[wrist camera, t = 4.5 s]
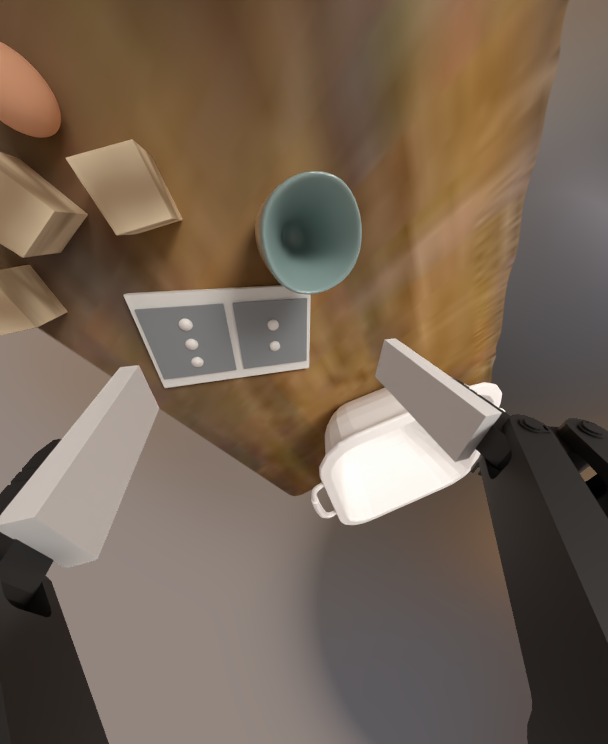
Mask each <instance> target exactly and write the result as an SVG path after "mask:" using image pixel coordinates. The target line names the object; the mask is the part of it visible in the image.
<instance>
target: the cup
mask: <svg viewBox="0 0 608 744" xmlns="http://www.w3.org/2000/svg"><path fill="white" fill-rule="evenodd" d="M255 238H256V244H257V247H258V251H259V254H260V256H261V258H262V260H263V262H264V264H265V265H266V267H267V269H268V270H269V272H270V273H271V274H272V275H273V276H274V278H275V279H276V280H277V281H278V282H279V283H280V284H281V285H283V286H284V287H285V288H287V289H288V290H290V291H293V292H295V293H298V294H307V295H309V294H318V293H321V292H325V291H327V290H329V289H331V288H333V287H335V286H336V285H338V284H339V283H340V282H342V281H343V280H344V279H345V278H346V277H347V276H348V275H349V273H350V272H351V270H352V269H353V267H354V265H355V263H356V261H357V259H358V255H359V251H360V247H361V238H362V226H361V218H360V212H359V209H358V206H357V203H356V200H355V198H354V196H353V194H352V192H351V190H350V189H349V187H348V186H347V185H346V184H345V183H344V182H343V181H342V180H341V179H339V178H338V177H336V176H335V175H333V174H330V173H326V172H323V171H308V172H303V173H299V174H296V175H294V176H292V177H290V178H288V179H286V180H285V181H283V182H282V183H281V184H280V185H278V186H277V187H276V188H275V189H273V190H272V192H271V193H270V194H269V195H268V196H267V197H266V199H265V200H264V201H263V202H262V204H261V206H260V208H259V210H258V213H257V217H256V221H255Z"/></svg>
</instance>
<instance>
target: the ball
mask: <svg viewBox="0 0 608 744" xmlns="http://www.w3.org/2000/svg"><path fill="white" fill-rule="evenodd" d="M0 120H1V121H2V122H3V123H5V124H6V125H8V126H9V127H11V128H13V129H15V130H17V131H19V132H21V133H23V134H26V135H29V136H32V137H38V138H45V137H50V136H52V135H54V134H55V133H56V132H57V131H58V130H59V127H60V124H61V114H60V109H59V105H58V103H57V100H56V98H55V96H54V94H53V92H52V90H51V89H50V87H49V86H48V84H47V83H46V81H45V80H44V79H43V77H42V76H41V75H40V74H39V72H38V71H37V70H36V69H35V68H34V67H33V66H32V65H31V64H30V63H29V62H28V61H27V60H26V59H25V58H23V57H22V56H21V55H20V54H19V53H17V52H16V51H14V50H13V49H12V48H10V47H9V46H7V45H5V44H4V43H2V42H0Z"/></svg>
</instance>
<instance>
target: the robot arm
mask: <svg viewBox="0 0 608 744" xmlns="http://www.w3.org/2000/svg"><path fill="white" fill-rule="evenodd" d="M375 377H376V378H377V379H378V380H379V381H380V382H381V383H382V385H383V386H384V387H385V388H386V389H387V390H388V391H389V392H390V393H391V394H392V395H393V396H394V397H395V398H396V400H397V401H398V402H399V403H400V404H401V405H402V406H403V407H404V408H405V409H406V410H407V411H408V412H409V413H410V415H411V416H412V417H413V418H414V419H415V420H416V421H417V422H418V423H419V424H420V425H421V426H422V427H423V428H424V430H425V431H426V432H427V433H428V434H429V435H430V436H431V437H432V438H433V439H434V440H435V441H436V442H437V443H438V445H439V446H440V447H441V448H442V449H443V450H444V451H445V452H446V453H447V454H448V455H449V456H450V457H451V458H452V459H453V461H454V462H457V461H461V460H465V459H468V458H470V456H471V455H472V454H473V452H474V451H475V449H476V450H477V451H478V452H479V453H481V455H480V457H479V458H478V459H477V460H476V462H475V463H474V464H473V466H472V467H471V472H474V471H475V470H476V469H477V468H478V467H480V471H479V472H478V475H481V476H482V479H483V484H484V488H485V492H486V497H487V501H488V506H489V510H490V514H491V519H492V523H493V528H494V532H495V537H496V541H497V545H498V550H499V554H500V558H501V563H502V567H503V572H504V576H505V581H506V585H507V589H508V594H509V598H510V602H511V607H512V611H513V616H514V619H515V625H516V629H517V633H518V638H519V642H520V647H521V651H522V656H523V660H524V664H525V668H526V673H527V677H528V682H529V686H530V690H531V697H532V712H531V715H530V718H529V721H528V726H527V740H528V744H608V431H606V430H605V429H603V428H602V427H600V426H598V425H596V424H595V423H592V422H589V421H586V420H581V419H577V418H569V419H568V420H566V421H565V422H564V423H563V424H562V425H561V426H560V427H549V426H546V425H545V424H543V423H542V422H540V421H538V420H536V419H534V418H531V417H528V416H525V415H519V414H517V415H512V416H510V415H508V414H507V413H506V412H504V411H503V410H501V409H500V408H498V407H497V406H495V405H494V404H492V403H491V402H490V401H488V400H487V399H485V398H484V397H482V396H481V395H479V394H477V393H476V392H475V391H474V390H472V389H469V387H468V386H466V385H465V384H463V383H462V382H460V381H459V380H456V379H454V378H452V377H450V376H448V375H447V374H446V373H444V372H443V371H441V370H440V369H438V368H437V367H436V366H434V365H433V364H431V363H430V362H428V361H427V360H426V359H424V358H423V357H421V356H420V355H418V354H417V353H415V352H414V351H413V350H411V349H410V348H408V347H407V346H405V345H404V344H403V343H401V342H400V341H398V340H397V339H385V340H384V343H383V347H382V351H381V355H380V359H379V363H378V367H377V371H376V375H375ZM158 411H159V407H158V404H157V402H156V400H155V398H154V396H153V394H152V392H151V390H150V388H149V386H148V383H147V381H146V379H145V377H144V375H143V373H142V371H141V369H140V367H139V365H137V366H128V367H120V368H119V369H118V370H117V372H116V373H115V374H114V375H113V377H112V378H111V379H110V380H109V382H108V383H107V384H106V385H105V387H104V388H103V389H102V390H101V391H100V393H99V394H98V395H97V396H96V398H95V399H94V400H93V402H92V403H91V404H90V405H89V406H88V408H87V409H86V410H85V411H84V412H83V414H82V415H81V416H80V417H79V419H78V420H77V421H76V422H75V424H74V425H73V426H72V427H71V428H70V430H69V431H68V433H66V435H65V436H64V437H63V438H62V439H57V440H53V441H52V442H50V443H49V444H48V445H46V446H45V447H44V448H42V449H41V450H40V451H38V452H37V453H36V454H35V455H34V456H33V457H32V458H31V459H30V460H29V462H28V463H27V464H26V465H25V466H24V467H23V468H22V472H19V473H18V474H17V475H16V476H15V478H14V479H13V480H12V481H11V485H8V486H7V487H6V488H5V489H4V490H3V491H2V492H1V494H0V744H109V743H108V740H107V737H106V734H105V731H104V728H103V726H102V723H101V720H100V717H99V714H98V712H97V709H96V706H95V703H94V700H93V697H92V695H91V692H90V689H89V686H88V683H87V681H86V678H85V675H84V672H83V669H82V666H81V664H80V661H79V658H78V655H77V652H76V650H75V647H74V644H73V641H72V639H71V635H70V633H69V630H68V627H67V624H66V621H65V618H64V616H63V613H62V610H61V607H60V604H59V602H58V599H57V596H56V593H55V590H54V588H53V585H52V582H51V581H50V580H49V578H47V577H46V576H45V575H46V573H47V571H48V570H49V568H50V566H51V564H52V562H53V561H54V562H55V563H57V564H59V565H61V566H63V567H64V568H69V567H72V566H76V565H79V564H83V563H87V562H90V561H94V560H97V559H98V556H99V554H100V551H101V549H102V547H103V544H104V542H105V539H106V537H107V534H108V532H109V530H110V527H111V525H112V522H113V520H114V517H115V515H116V512H117V510H118V508H119V505H120V503H121V500H122V498H123V496H124V493H125V491H126V488H127V486H128V483H129V481H130V478H131V476H132V474H133V471H134V469H135V466H136V464H137V462H138V459H139V457H140V454H141V452H142V449H143V447H144V445H145V442H146V440H147V437H148V435H149V432H150V430H151V428H152V425H153V423H154V420H155V418H156V415H157V413H158ZM589 466H591V467H592V468H593V469H594V470H595V471H596V473H597V475H595V476H594V477H592V478H591V479H589V480H588V481H586V482H585V481H584V480H583V478H582V477H581V475H580V473H581V472H582V471H584V470H585V469H586V468H587V467H589Z"/></svg>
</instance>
